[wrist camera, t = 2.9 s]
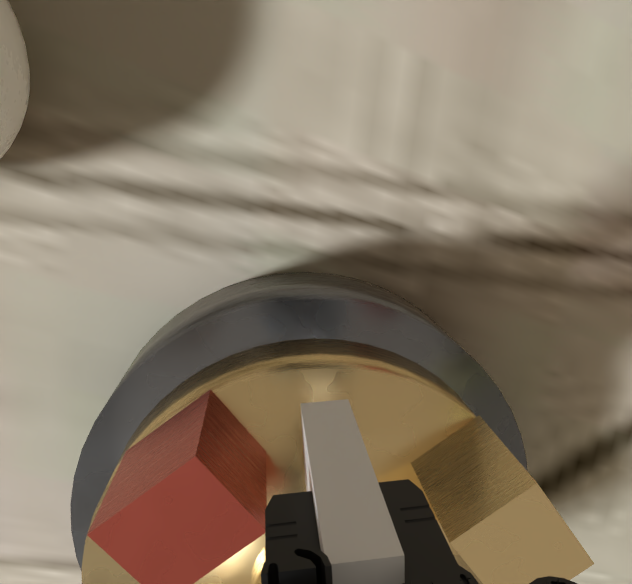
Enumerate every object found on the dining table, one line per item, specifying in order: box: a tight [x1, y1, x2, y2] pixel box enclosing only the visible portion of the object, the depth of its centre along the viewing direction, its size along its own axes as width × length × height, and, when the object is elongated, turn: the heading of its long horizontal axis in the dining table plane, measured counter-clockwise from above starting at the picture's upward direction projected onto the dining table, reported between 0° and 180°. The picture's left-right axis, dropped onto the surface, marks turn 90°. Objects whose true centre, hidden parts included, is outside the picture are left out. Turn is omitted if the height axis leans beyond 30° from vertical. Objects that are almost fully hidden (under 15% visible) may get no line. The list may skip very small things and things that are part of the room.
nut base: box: [71, 272, 527, 571], centre depth 25 cm, size 20×20×5 cm
